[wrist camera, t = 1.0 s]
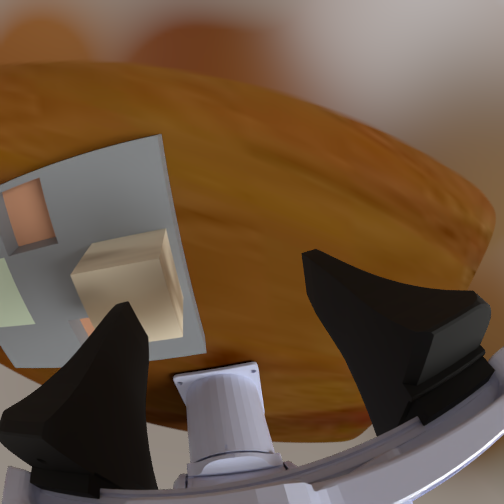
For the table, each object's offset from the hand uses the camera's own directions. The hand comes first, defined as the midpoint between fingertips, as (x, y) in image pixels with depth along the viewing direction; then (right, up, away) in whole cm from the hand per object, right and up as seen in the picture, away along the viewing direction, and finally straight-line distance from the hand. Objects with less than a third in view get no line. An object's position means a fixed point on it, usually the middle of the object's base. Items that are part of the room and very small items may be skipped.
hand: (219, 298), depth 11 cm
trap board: (-13, 0, +7) cm, 15 cm away
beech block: (-6, +1, +6) cm, 9 cm away
